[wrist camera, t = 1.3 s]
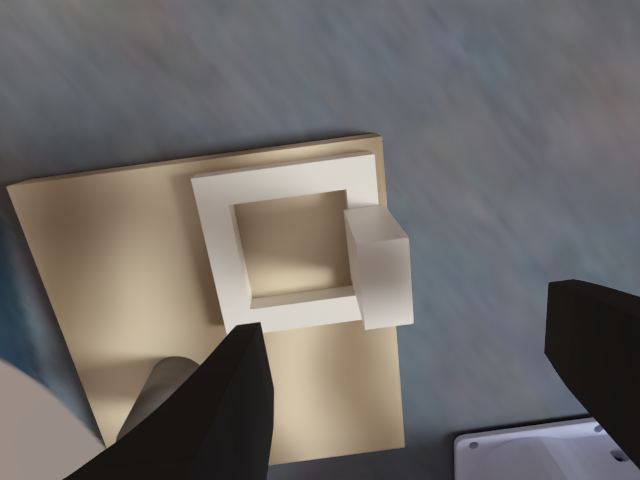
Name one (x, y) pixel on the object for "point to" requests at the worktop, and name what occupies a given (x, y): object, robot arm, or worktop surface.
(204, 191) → the collar
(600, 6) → the worktop surface
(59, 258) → the board
